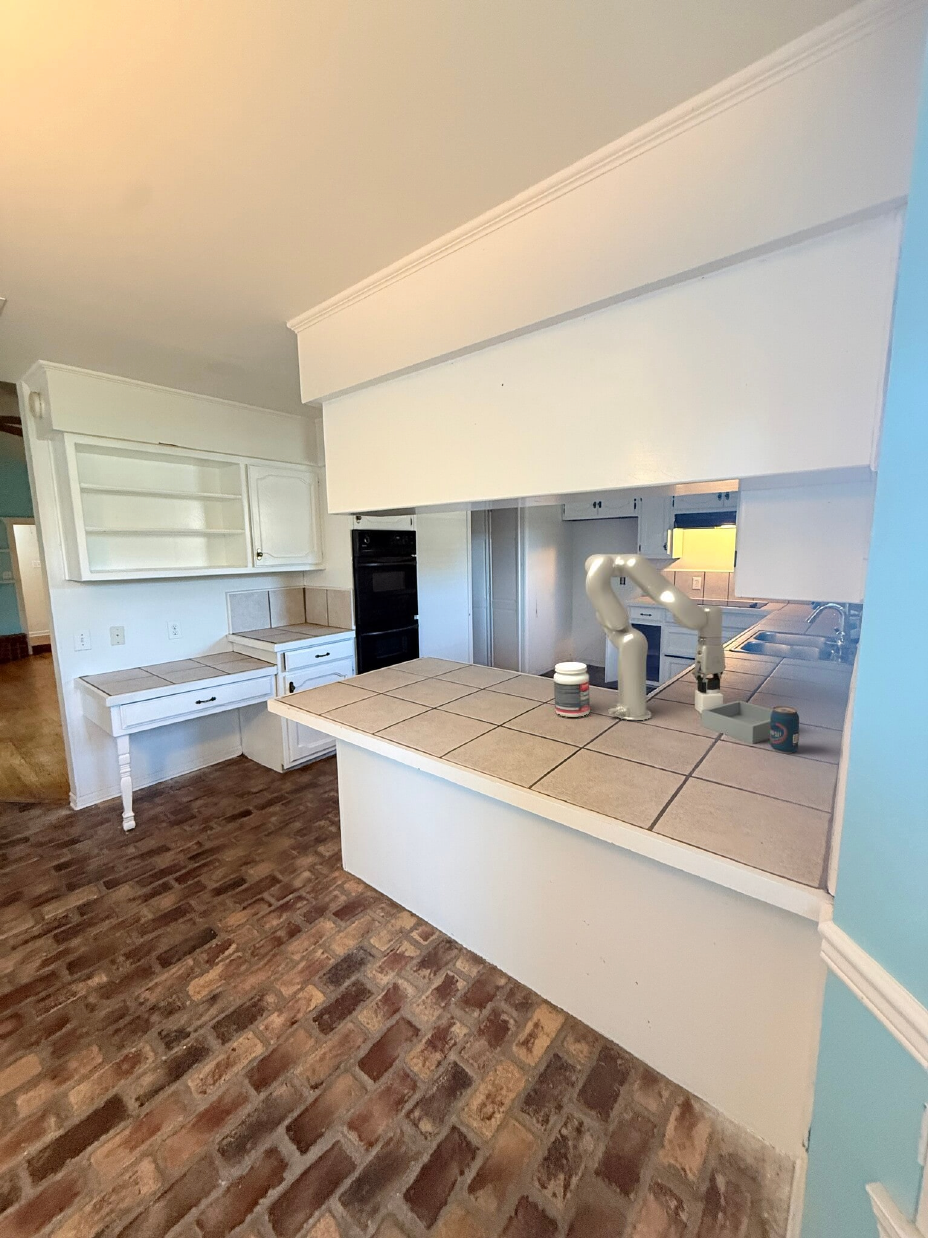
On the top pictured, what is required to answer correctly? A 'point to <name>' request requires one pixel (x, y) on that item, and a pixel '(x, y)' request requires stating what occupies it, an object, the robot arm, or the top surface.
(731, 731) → the bin
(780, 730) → the soda can
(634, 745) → the top surface
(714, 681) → the medicine bottle
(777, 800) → the top surface
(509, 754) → the top surface
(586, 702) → the supplement tub
